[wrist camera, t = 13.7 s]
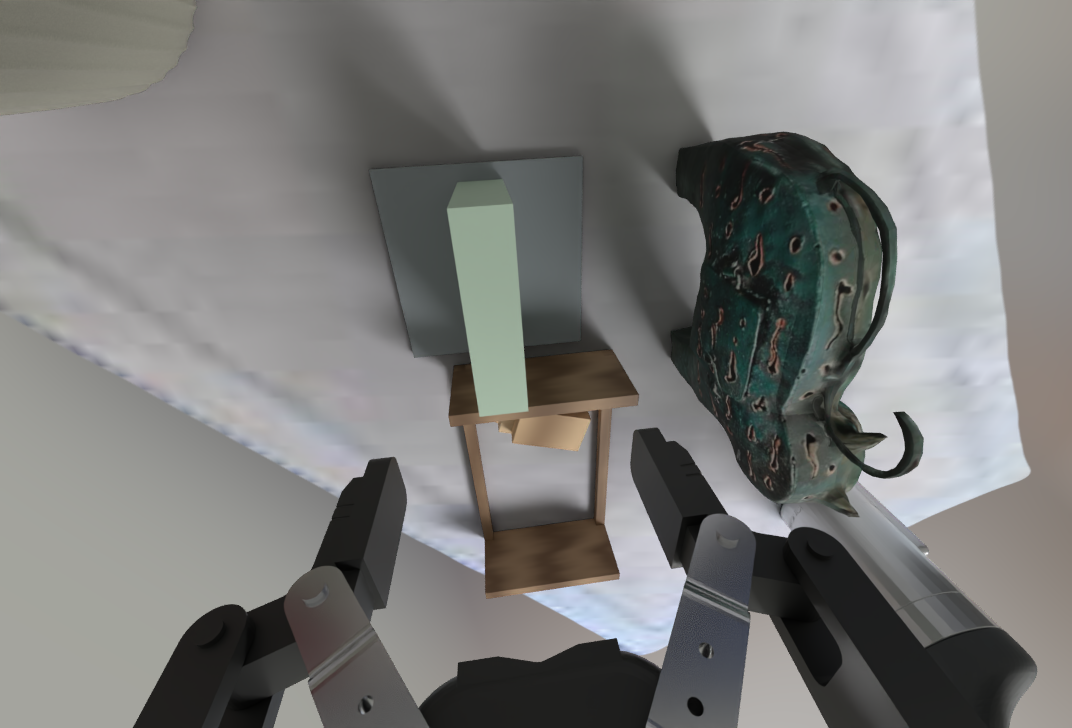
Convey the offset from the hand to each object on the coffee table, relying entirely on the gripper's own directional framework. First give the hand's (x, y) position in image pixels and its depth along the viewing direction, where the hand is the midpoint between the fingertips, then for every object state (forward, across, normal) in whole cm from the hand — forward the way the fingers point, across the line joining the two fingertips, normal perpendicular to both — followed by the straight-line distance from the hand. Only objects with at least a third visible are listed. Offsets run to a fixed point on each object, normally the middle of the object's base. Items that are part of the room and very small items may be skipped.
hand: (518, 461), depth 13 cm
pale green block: (+20, +1, -1) cm, 20 cm away
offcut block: (+20, -3, +13) cm, 24 cm away
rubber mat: (+20, +1, -1) cm, 20 cm away
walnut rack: (+20, -2, +20) cm, 28 cm away
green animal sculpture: (+20, -15, +1) cm, 26 cm away
